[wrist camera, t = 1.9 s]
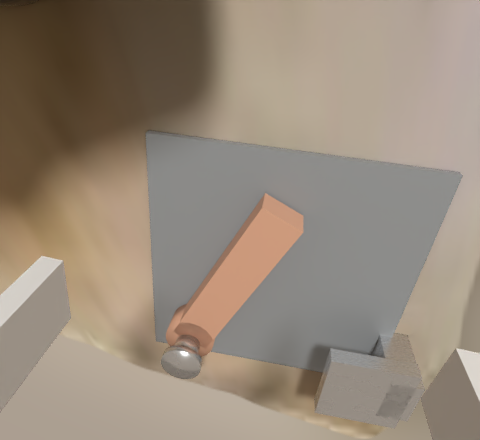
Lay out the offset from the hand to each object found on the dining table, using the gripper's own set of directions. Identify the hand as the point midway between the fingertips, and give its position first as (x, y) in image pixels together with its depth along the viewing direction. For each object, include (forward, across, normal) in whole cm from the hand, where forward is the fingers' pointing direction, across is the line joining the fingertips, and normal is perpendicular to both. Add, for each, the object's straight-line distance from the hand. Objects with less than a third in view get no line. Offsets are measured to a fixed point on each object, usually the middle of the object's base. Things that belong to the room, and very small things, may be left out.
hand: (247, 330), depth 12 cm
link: (+20, -2, -15) cm, 25 cm away
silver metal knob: (+17, -5, -22) cm, 28 cm away
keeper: (+21, +13, -21) cm, 32 cm away
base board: (+21, +2, -14) cm, 25 cm away
